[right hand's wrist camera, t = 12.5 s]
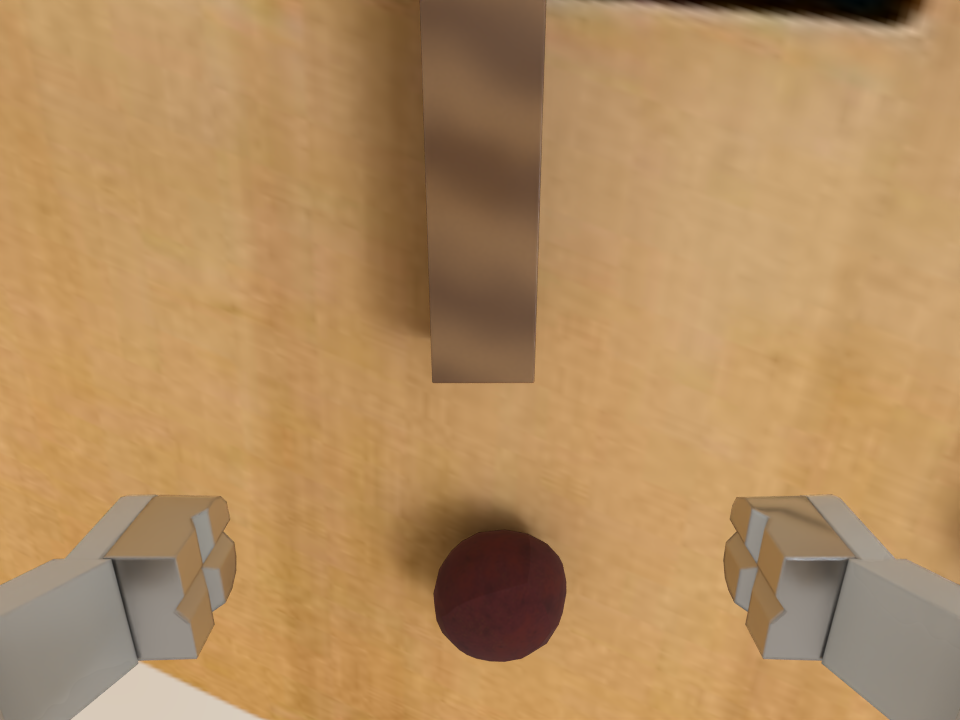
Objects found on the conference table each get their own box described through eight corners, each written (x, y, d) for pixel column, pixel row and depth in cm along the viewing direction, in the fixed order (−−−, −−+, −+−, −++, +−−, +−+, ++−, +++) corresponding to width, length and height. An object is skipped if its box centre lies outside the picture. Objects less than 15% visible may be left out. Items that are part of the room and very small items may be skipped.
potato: (417, 531, 40) (405, 616, 33) (533, 485, 38) (544, 564, 32) (469, 616, 42) (467, 711, 36) (579, 575, 41) (598, 666, 34)
